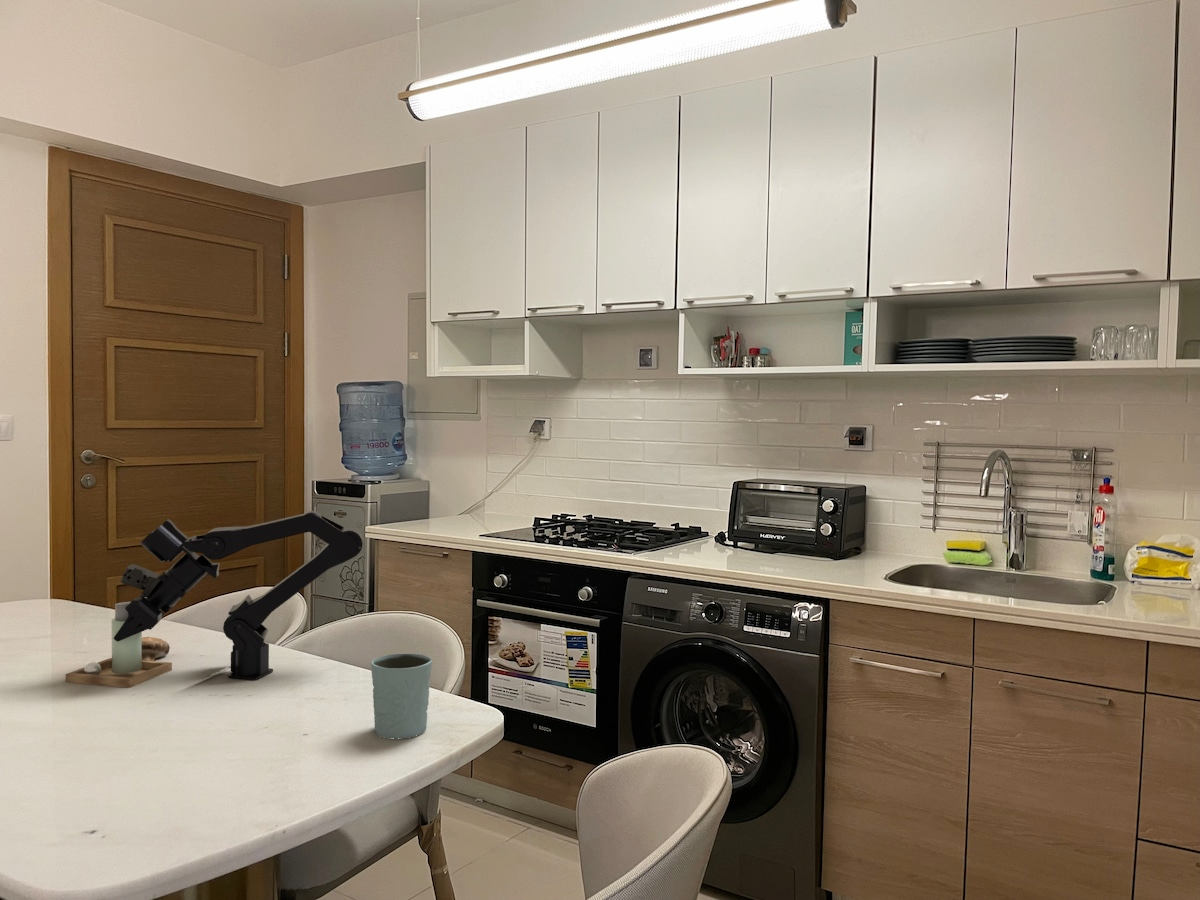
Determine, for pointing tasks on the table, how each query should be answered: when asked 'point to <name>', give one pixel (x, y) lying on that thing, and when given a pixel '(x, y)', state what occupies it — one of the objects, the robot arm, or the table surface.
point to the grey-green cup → (401, 694)
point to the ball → (93, 669)
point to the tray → (119, 674)
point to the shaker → (125, 645)
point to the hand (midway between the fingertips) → (119, 636)
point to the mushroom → (154, 648)
